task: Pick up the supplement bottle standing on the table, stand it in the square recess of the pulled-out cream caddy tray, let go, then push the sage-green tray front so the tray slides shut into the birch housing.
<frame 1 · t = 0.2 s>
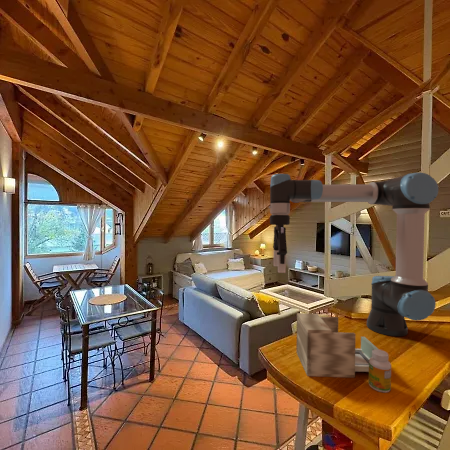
hand: (279, 269, 101), 28 cm above the counter, fingers open, 13 cm apart
tray: (352, 354, 84), point 3 cm above the counter, slide at 8.0 cm
supplement bottle: (379, 387, 73), on the counter
housing: (323, 363, 85), on the counter
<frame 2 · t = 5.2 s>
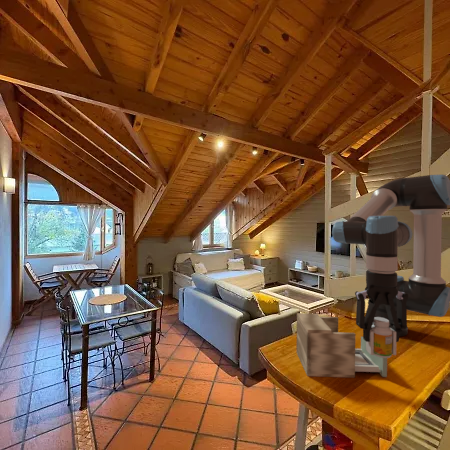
hand: (380, 352, 73), 10 cm above the counter, fingers closed on supplement bottle, 5 cm apart
supplement bottle: (380, 354, 73), point 9 cm above the counter, touching gripper
everything else where it was.
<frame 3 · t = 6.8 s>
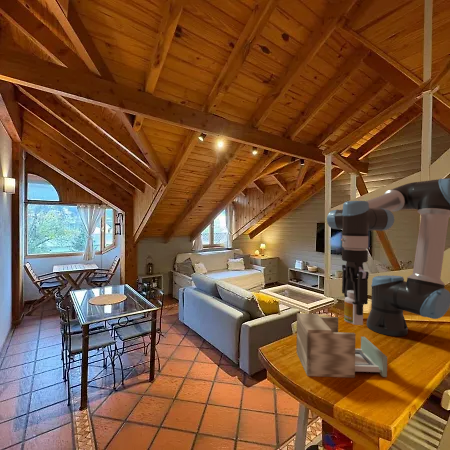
hand: (353, 320, 84), 15 cm above the counter, fingers closed on supplement bottle, 5 cm apart
supplement bottle: (353, 322, 84), point 14 cm above the counter, touching gripper
everything else where it was.
when the fingers open (3 cm above the counter, at t = 8.6 s): supplement bottle drops 1 cm, resting on tray.
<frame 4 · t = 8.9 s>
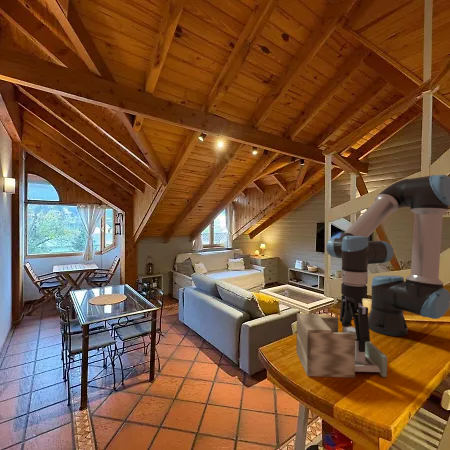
hand: (353, 352, 84), 4 cm above the counter, fingers open, 9 cm apart
tray: (352, 354, 84), point 3 cm above the counter, slide at 8.0 cm, touching supplement bottle
supplement bottle: (352, 359, 84), point 2 cm above the counter, touching tray
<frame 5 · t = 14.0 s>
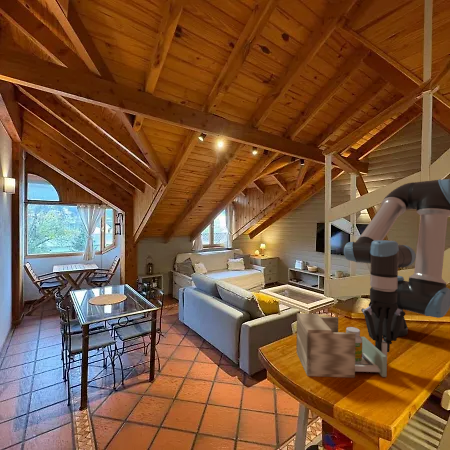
hand: (382, 361, 84), 2 cm above the counter, fingers closed
tray: (352, 354, 84), point 3 cm above the counter, slide at 7.9 cm, touching supplement bottle, gripper
everything else where it was.
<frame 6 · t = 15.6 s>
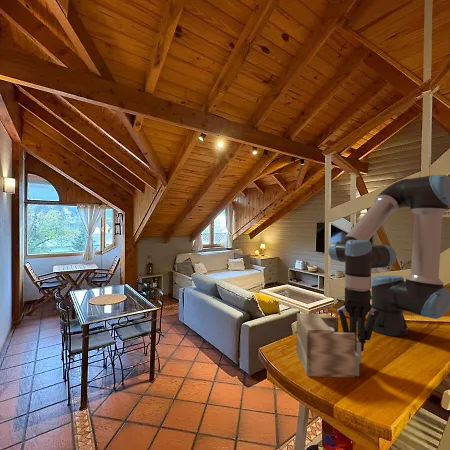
hand: (356, 360, 84), 2 cm above the counter, fingers closed
tray: (327, 353, 85), point 3 cm above the counter, slide at -0.1 cm, touching supplement bottle, gripper
supplement bottle: (327, 358, 85), point 2 cm above the counter, touching tray
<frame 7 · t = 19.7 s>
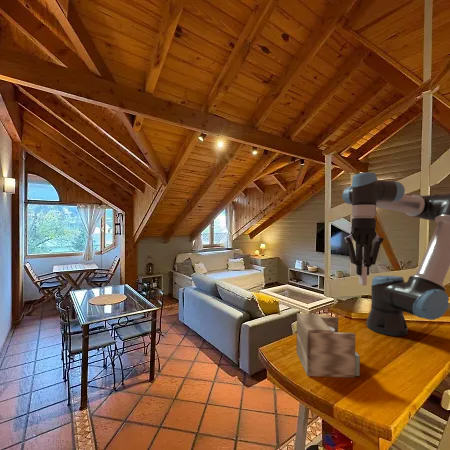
hand: (362, 284, 92), 24 cm above the counter, fingers closed
tray: (327, 353, 85), point 3 cm above the counter, slide at 0.0 cm, touching supplement bottle
everything else where it was.
at the end: tray slide at 0.0 cm; supplement bottle inside the target area on the housing (1.5 cm from its centre), point 1.7 cm above the housing's base; supplement bottle tilted 0° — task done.
